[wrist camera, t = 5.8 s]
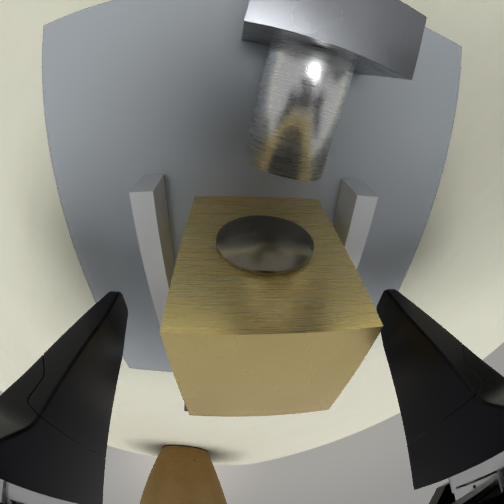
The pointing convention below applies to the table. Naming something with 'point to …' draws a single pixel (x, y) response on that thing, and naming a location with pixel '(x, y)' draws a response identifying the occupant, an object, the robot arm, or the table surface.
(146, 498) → the plant pot
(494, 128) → the table surface
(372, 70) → the shaft
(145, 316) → the grey base plate
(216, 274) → the block
